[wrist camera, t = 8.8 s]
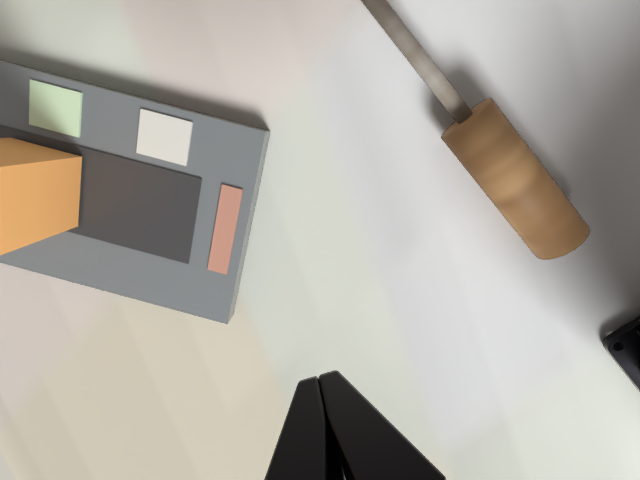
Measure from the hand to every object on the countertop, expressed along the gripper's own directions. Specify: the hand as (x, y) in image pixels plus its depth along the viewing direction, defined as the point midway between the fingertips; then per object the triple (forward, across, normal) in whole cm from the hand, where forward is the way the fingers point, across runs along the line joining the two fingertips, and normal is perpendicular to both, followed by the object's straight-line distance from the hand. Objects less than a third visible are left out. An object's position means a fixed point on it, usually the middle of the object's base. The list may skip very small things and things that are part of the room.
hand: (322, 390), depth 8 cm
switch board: (+14, +8, -3) cm, 17 cm away
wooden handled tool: (+10, -9, -2) cm, 14 cm away
